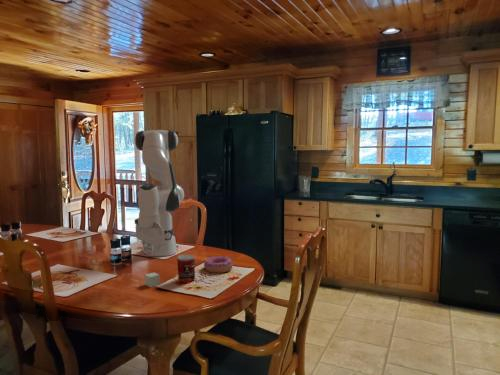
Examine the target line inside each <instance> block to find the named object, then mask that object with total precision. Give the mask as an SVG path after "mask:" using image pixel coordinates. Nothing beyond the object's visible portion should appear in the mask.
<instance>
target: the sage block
mask: <svg viewBox="0 0 500 375" xmlns="http://www.w3.org/2000/svg"><path fill="white" fill-rule="evenodd" d="M144 280H145V281H144V285H145V286H147V287H149V288H153V287H156V286H159V285H160V286H161V284H160V282H161V280H160V274H158V273H156V272H155V271H154V272H150V273H146V274H144Z"/></svg>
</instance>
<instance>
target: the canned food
mask: <svg viewBox="0 0 500 375" xmlns="http://www.w3.org/2000/svg"><path fill="white" fill-rule="evenodd" d="M195 268H196V265H195V255H193V254H189V253H187V254H181V255H178V256H177V279H178V282H179V281H180V282H179V283H181V282H183V283H182V284H188V283H187V282H189V283H192V282H194V281H195V279H196V270H195Z"/></svg>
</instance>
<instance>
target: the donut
mask: <svg viewBox="0 0 500 375" xmlns="http://www.w3.org/2000/svg"><path fill="white" fill-rule="evenodd" d="M203 262H204V263H203V266H204V267H203V268H204V269H205V270H206V271H207V272H208V273H211V274H212V273H213V274H222V273H226V272H230V271H231V270H232V269H233V266H234V264H233V263H234V262H233V259H232V258H231V257H228V256H223V255H221V256H219V255H217V256H211V257H208V258H206V259H205V260H204V261H203Z"/></svg>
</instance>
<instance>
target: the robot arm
mask: <svg viewBox="0 0 500 375" xmlns="http://www.w3.org/2000/svg"><path fill="white" fill-rule="evenodd" d="M134 144H135V147H136V149H138V151H141V159H142V163H143V165H144V166H145V167H146V168H148V169H149V176H150V177H151V178H152V179H154V180H156V181H159V182H160V184H161V185H156V184H152V183H147V184H146V183H145V184H142V185H140V186H139V188H138V191H137V196H136V198H137V200H136V201H137V207H138V210H139V213H138V217H137V218H136V219H134V224H135V236H136V239H137V240H139V241H141V244H142V247H143V248H141V251H142V253H144V254H145V255H146V256H147V257H167V256H171V255H174V254H176V253H177V251H179V248H178V247H177V242H176V236H175V235H174V228H173V216H172V214H171V213H170V212H176V211H177V210H178V209H179V207H181V206H180V205H181V203H182V202H183V200H184V198H185V192H184V188H182V186H180V185H179V184H177V180H176V175H175V170H174V165H173V163H172V161H171V160H170V152H172V151H174V150H175V149H177V147H178V144H179V138H178V135H177V133H176V131H174V130H172V129H171V130H169V129H168V130H165V129H155V130H154V129H151V130H139V131H137V132H136V133H135V136H134Z"/></svg>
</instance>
